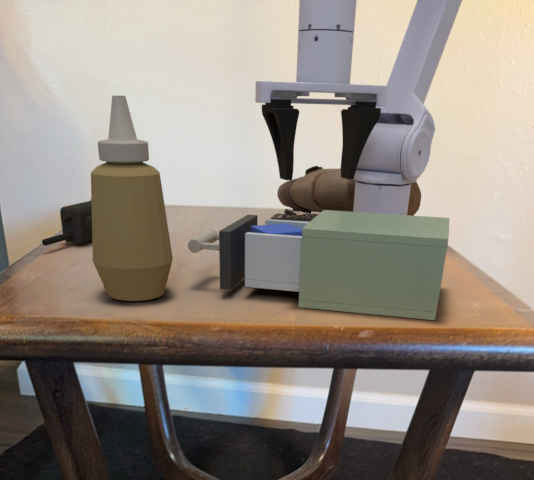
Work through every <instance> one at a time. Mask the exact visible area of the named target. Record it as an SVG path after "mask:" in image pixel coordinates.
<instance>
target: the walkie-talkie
mask: <svg viewBox="0 0 534 480" xmlns="http://www.w3.org/2000/svg"><path fill="white" fill-rule="evenodd" d="M59 215H60V216H59V217H60V223H61V231H62V234H58V235H54V236H50V237H47V238H43V239H42V240H41V243H42V245H43V246H45V247H46V246H49V245H53V244H56V243H60V242H63V241H65V242H66V243H69V244H78V245H81V244H84V243H87V242H91V241H92V203H91V201H90V200H87V201H83V202H79V203H74V204H69V205H66V206H65V205H64V206H62V207H61V208H60V210H59Z"/></svg>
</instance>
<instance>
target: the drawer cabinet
mask: <svg viewBox="0 0 534 480" xmlns="http://www.w3.org/2000/svg"><path fill="white" fill-rule="evenodd" d="M315 216H316V217H315V218H314V219H313V220H311V221H310V222H309V223H308V224H307V225H306V226H304V227H303V228H302V242H301V263H300V284H299V292H298V308H302V309H303V308H304V309H312V310H322V311H332V312H342V313H343V312H344V313H353V314H354V313H355V314H362V315H363V314H364V315H374V316H386V317H395V318H406V319H417V320H426V321H427V320H428V321H436V318H437V317H436V316H437V311H438V307H439V306H438V304H439V299H440V293H441V287H442V280H443V276H444V275H443V274H444V268H445V263H446V256H447V250H448V244H449V237H450V236H449V235H450V217H442V216H441V217H440V216H426V215H425V216H424V215H423V216H422V215H414V216H411V215H395V214H379V213H364V212H348V211H332V210H323V211H322V212H321V213H320V212H319V213H318V214H317V215H315Z"/></svg>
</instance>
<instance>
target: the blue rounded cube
mask: <svg viewBox="0 0 534 480" xmlns="http://www.w3.org/2000/svg"><path fill="white" fill-rule="evenodd" d="M251 232H252V233H266V234H279V235H293V236H302V229H300V228H297V227H295V226H292V225H289V224H273V225H266V224H257V226H251Z"/></svg>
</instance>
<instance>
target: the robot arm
mask: <svg viewBox="0 0 534 480" xmlns="http://www.w3.org/2000/svg"><path fill="white" fill-rule="evenodd" d="M298 2H299V3H298V4H299V5H298V6H299V7H298V28H297V29H298V30H297V31H298V32H297V51H296V52H297V53H296V73H295V74H296V75H295V76H296V77H295V78H296V79H295V81H272V80H271V81H269V80H268V81H267V80H256V81H255V92H254V93H255V95H254V96H255V98H254V99H255V100H254V101H255V102H254V103H257V104H258V103H259V104H261V114H262V117H263V119H264V122H265V124H266V126H267V129H268V132H269V134H270V137H271V141H272V144H273V147H274V151H275V156H276V160H277V166H278V171H279V172H278V174H279V179H280V180H284V181H290V180H293V176H294V164H295V163H294V155H295V154H294V153H295V139H296V133H297V127H298V120H299V115H300V110H299V109H298V108H294V107H295V106H294V105H295V104H300V105H335V106H336V105H338V106H348V107H347V108H342V109H341V110H340V116H341V129H342V130H341V131H342V147H341V159H340V169H341V178H345V179H352V180H357V181H356V183H355V195H354V206H353V212H364V213H379V214H395V215H407V211H408V204H409V196H410V188H411V183H415V182H417V181H418V179H419V178H420V177H421V175H422V174H423V173H424V172H425V170H426V168H427V166H428V165H429V164H428V163H429V160H430V157H431V151H432V143H433V138H434V135H435V133H436V125H435V120H434V118H433V116H432V114H431V112H430V111H429V109H428V108H427V107H426V106H425V102H426V99H427V97H428V93H429V91H430V88H431V86H432V83H433V81H434V77H435V75H436V72H437V70H438V67H439V64H440V61H441V59H442V57H443V53H444V50H445V49H446V45H447V42H448V40H449V37H450V35H451V33H452V32H451V31H452V29H453V26H454V23H455V21H456V19H457V15H458V13H459V11H460V7H461V5H462V2H463V0H416V3H415V6H414V8H413V11H412V14H411V17H410V19H409V23H408V25H407V28H406V31H405V34H404V36H403V38H402V42H401V44H400V47H399V50H398V53H397V56H396V59H395V61H394V64H393V67H392V70H391V72H390V75H389V77H388V80H387V83H386V85H377V84H376V85H375V84H373V85H372V84H357V83H356V84H355V83H353V84H352V83H351V76H352V75H351V73H352V62H353V49H354V37H355V26H356V25H355V24H356V23H355V22H356V13H357V0H299V1H298ZM310 93H320V94H321V93H324V94H334V98H343V99H334V98H306V97H310ZM298 97H299V98H298ZM301 97H303V98H301ZM304 97H305V98H304ZM292 104H294V105H292Z"/></svg>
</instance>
